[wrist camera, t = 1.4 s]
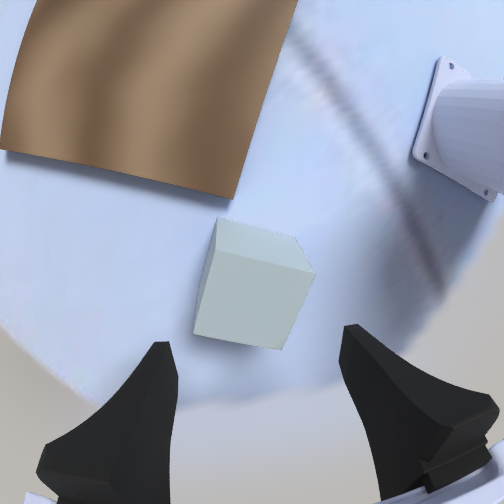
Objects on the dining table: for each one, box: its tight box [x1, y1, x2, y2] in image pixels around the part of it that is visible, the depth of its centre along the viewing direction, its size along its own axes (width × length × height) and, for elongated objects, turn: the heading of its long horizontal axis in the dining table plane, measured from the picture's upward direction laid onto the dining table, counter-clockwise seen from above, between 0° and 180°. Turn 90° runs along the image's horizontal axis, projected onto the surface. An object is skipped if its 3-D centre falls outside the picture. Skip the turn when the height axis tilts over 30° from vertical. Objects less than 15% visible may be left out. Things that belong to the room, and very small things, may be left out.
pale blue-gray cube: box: [193, 217, 316, 350], centre depth 18 cm, size 5×5×5 cm
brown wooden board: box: [0, 0, 298, 200], centre depth 14 cm, size 16×14×1 cm
